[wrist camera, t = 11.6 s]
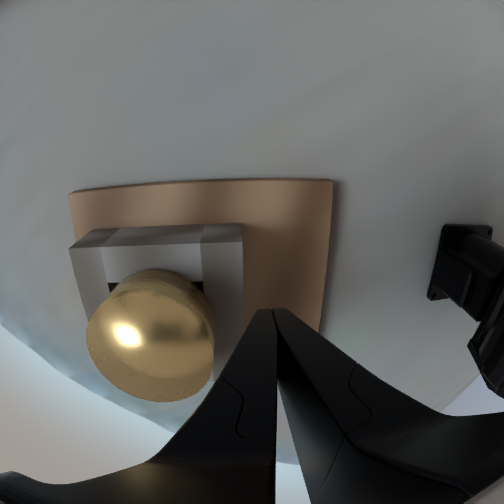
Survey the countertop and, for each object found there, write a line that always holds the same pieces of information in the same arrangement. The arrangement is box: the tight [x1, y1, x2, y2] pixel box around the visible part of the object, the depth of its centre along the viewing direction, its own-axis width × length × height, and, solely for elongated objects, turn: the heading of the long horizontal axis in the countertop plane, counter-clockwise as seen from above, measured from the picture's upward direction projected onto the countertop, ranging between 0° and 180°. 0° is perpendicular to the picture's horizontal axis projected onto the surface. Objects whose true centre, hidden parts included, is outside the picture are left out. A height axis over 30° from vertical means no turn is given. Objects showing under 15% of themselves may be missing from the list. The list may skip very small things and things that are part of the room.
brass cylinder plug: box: [86, 270, 216, 402], centre depth 15 cm, size 6×6×6 cm
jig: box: [69, 178, 333, 381], centre depth 17 cm, size 16×14×4 cm
